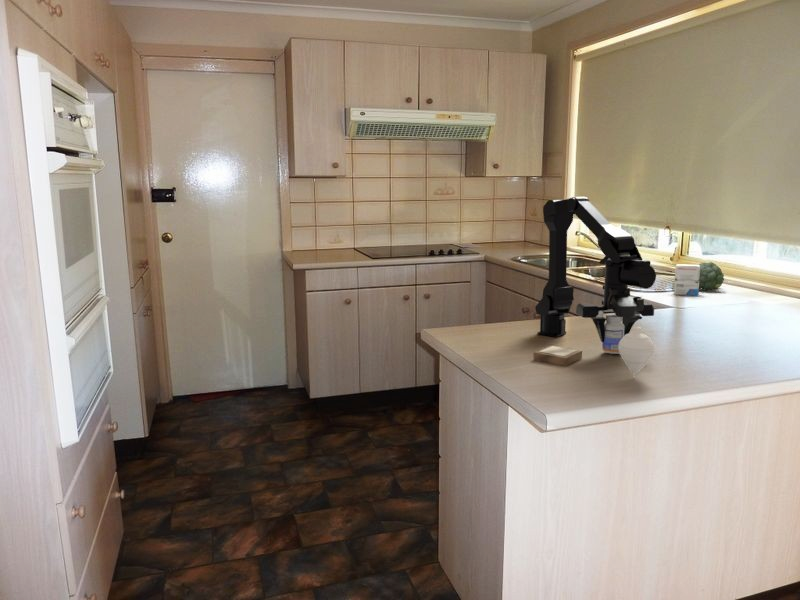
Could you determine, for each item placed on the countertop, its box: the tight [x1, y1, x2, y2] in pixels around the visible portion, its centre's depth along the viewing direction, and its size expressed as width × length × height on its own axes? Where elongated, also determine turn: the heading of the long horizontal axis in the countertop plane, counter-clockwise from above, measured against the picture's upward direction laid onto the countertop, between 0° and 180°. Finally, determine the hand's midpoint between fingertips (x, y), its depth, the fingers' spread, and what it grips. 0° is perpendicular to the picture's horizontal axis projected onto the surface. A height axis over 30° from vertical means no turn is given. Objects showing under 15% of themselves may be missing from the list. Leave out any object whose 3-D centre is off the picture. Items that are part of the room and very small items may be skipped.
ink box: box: [673, 263, 700, 297], centre depth 245 cm, size 9×5×12 cm, turn 58°
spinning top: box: [618, 326, 655, 379], centre depth 143 cm, size 8×8×12 cm
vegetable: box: [698, 262, 725, 292], centre depth 254 cm, size 12×13×15 cm
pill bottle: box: [601, 313, 625, 355], centre depth 162 cm, size 5×5×10 cm
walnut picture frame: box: [532, 344, 583, 367], centre depth 160 cm, size 9×9×2 cm
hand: (613, 341), depth 163 cm, fingers closed on pill bottle, 5 cm apart
